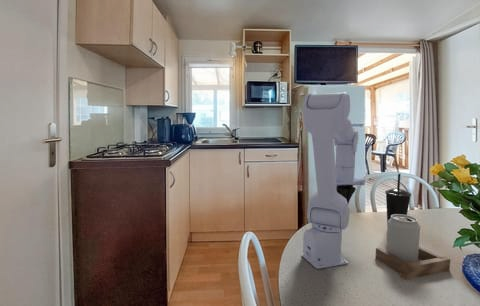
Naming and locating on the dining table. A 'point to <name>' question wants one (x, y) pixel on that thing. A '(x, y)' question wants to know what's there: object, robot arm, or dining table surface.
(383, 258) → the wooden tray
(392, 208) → the drinking cup
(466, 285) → the dining table surface
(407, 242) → the can
